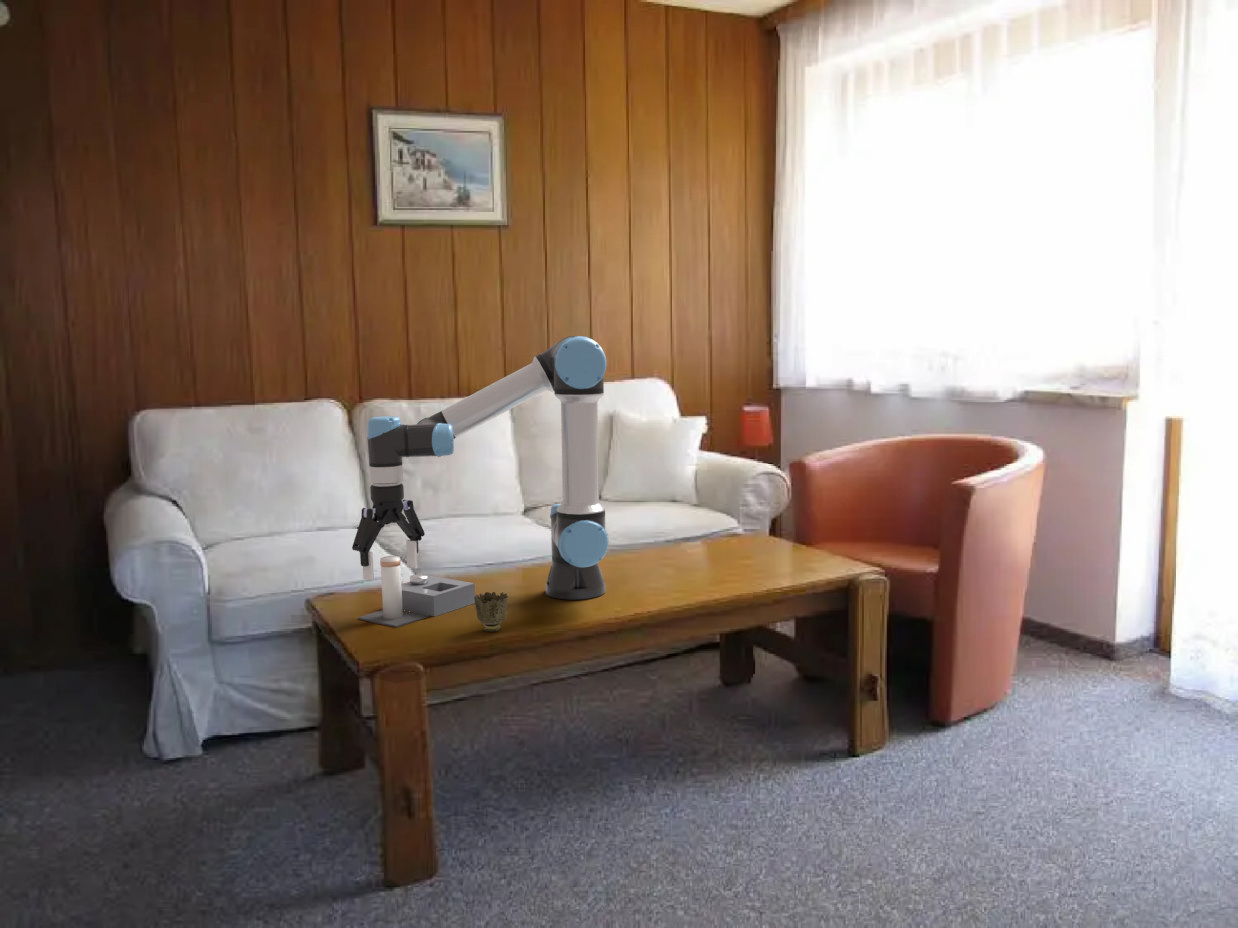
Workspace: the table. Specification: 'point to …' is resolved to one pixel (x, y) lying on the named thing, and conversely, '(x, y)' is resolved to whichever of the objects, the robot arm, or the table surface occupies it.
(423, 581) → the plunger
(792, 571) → the table surface
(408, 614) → the mat
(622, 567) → the table surface
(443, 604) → the housing
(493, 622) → the cup
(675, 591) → the table surface
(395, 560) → the cylinder
